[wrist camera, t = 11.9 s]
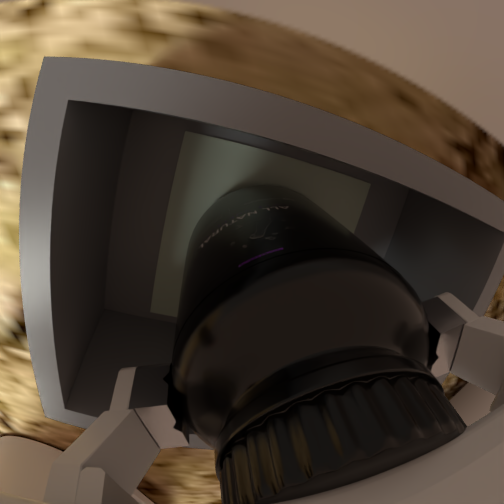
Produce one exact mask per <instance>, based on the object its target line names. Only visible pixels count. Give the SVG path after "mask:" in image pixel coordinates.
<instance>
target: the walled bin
mask: <svg viewBox="0 0 504 504" xmlns="http://www.w3.org/2000/svg"><path fill="white" fill-rule="evenodd" d="M255 185H274V186H280V187H284V188H288V189H291V190H293V191H296V192H298V193H300V194H302V195H304V196H305V197H307V198H308V199H310V200H311V201H313V202H314V203H315V204H317V205H318V206H319V207H321V208H322V209H323V210H324V211H326V212H327V213H328V214H329V215H331V216H332V217H333V218H335V219H336V220H337V221H338V222H339V223H341V224H342V225H343V226H344V227H346V228H347V229H348V230H349V231H351V232H352V233H353V234H354V235H355V236H357V237H358V238H359V239H360V240H362V241H363V242H364V243H365V244H366V245H368V246H369V247H370V248H371V249H372V250H373V251H375V252H376V253H377V254H378V255H379V256H381V257H382V258H383V259H384V260H385V261H386V262H387V263H389V264H390V265H391V266H392V267H393V268H394V269H395V270H397V271H398V272H399V273H400V274H401V275H402V276H403V277H404V278H405V279H406V280H407V282H408V283H409V284H410V285H411V286H412V287H413V289H414V290H415V291H416V293H417V294H418V296H419V298H420V300H421V302H422V301H425V300H427V299H430V298H433V297H435V296H437V295H440V294H443V293H445V292H448V293H451V294H452V295H454V296H455V297H456V298H457V299H458V300H460V301H461V302H462V303H463V304H464V305H466V306H467V307H468V308H469V309H470V310H472V311H473V312H474V313H475V314H476V315H477V316H479V317H481V316H484V314H485V312H486V310H487V308H488V306H489V304H490V302H491V300H492V298H493V296H494V294H495V292H496V290H497V288H498V286H499V284H500V282H501V279H502V277H503V275H504V201H503V200H501V199H500V198H498V197H497V196H495V195H494V194H492V193H491V192H489V191H487V190H486V189H484V188H483V187H481V186H479V185H478V184H476V183H474V182H473V181H471V180H469V179H468V178H466V177H464V176H463V175H461V174H459V173H457V172H456V171H454V170H452V169H450V168H449V167H447V166H445V165H443V164H441V163H439V162H438V161H436V160H434V159H432V158H430V157H428V156H426V155H424V154H422V153H420V152H418V151H416V150H414V149H412V148H410V147H408V146H406V145H404V144H402V143H400V142H398V141H396V140H393V139H391V138H389V137H387V136H385V135H383V134H380V133H378V132H376V131H373V130H371V129H369V128H366V127H364V126H362V125H359V124H357V123H354V122H352V121H350V120H347V119H345V118H342V117H339V116H337V115H334V114H332V113H329V112H326V111H324V110H321V109H318V108H315V107H312V106H310V105H307V104H304V103H301V102H298V101H295V100H292V99H289V98H286V97H282V96H279V95H276V94H273V93H269V92H266V91H263V90H259V89H256V88H252V87H248V86H245V85H241V84H237V83H233V82H229V81H225V80H221V79H217V78H212V77H208V76H204V75H199V74H194V73H189V72H184V71H179V70H174V69H168V68H162V67H156V66H150V65H143V64H136V63H128V62H120V61H110V60H100V59H88V58H71V57H44V59H43V63H42V66H41V70H40V74H39V77H38V81H37V85H36V90H35V94H34V99H33V103H32V108H31V113H30V119H29V124H28V130H27V137H26V144H25V151H24V159H23V168H22V179H21V193H20V215H19V253H20V275H21V289H22V300H23V309H24V317H25V325H26V332H27V338H28V344H29V350H30V355H31V360H32V365H33V370H34V375H35V379H36V384H37V388H38V392H39V396H40V400H41V403H42V407H43V410H44V414H45V417H47V418H50V419H53V420H57V421H60V422H63V423H67V424H70V425H74V426H77V427H81V428H85V429H87V428H88V427H89V426H90V425H91V424H92V423H93V422H94V421H95V420H96V419H97V418H98V417H99V416H100V415H101V414H102V413H103V412H104V411H109V410H110V405H111V401H112V397H113V393H114V388H115V384H116V380H117V376H118V372H119V371H120V370H121V369H122V368H128V367H138V366H144V365H153V364H162V363H170V362H172V355H173V346H174V338H175V329H176V322H177V314H178V307H179V299H180V292H181V286H182V279H183V272H184V266H185V259H186V254H187V249H188V244H189V241H190V238H191V235H192V233H193V230H194V228H195V226H196V224H197V223H198V221H199V219H200V218H201V217H202V215H203V214H204V213H205V212H206V211H207V209H208V208H209V207H211V206H212V205H213V204H214V203H215V202H216V201H218V200H219V199H221V198H222V197H224V196H225V195H227V194H229V193H231V192H233V191H236V190H239V189H241V188H245V187H249V186H255ZM449 373H450V372H448V373H445V374H443V375H441V376H439V377H436V378H437V380H438V381H439V382H440V384H442V383H443V381H444V380H445V379H446V377H447V376H448V374H449ZM189 445H190V446H182V447H188V448H198V449H210V450H214V449H213V448H211V447H210V446H208V445H207V444H206V443H205V442H203V441H202V440H201V439H200V438H199V437H198V436H197V435H196V434H195V433H194V432H193V431H192V429H191V428H190V427H189Z"/></svg>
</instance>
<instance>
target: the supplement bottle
mask: <svg viewBox="0 0 504 504" xmlns="http://www.w3.org/2000/svg"><path fill="white" fill-rule="evenodd" d="M429 353H430V330H429V323H428V319H427V315H426V311H425V309H424V306H423V304H422V302H421V300H420V298H419V296H418V294H417V293H416V291H415V290H414V289H413V287H412V286H411V285H410V284H409V283H408V282H407V280H406V279H405V278H404V277H403V276H402V275H401V274H400V273H399V272H398V271H397V270H395V269H394V268H393V267H392V266H391V265H390V264H389V263H387V262H386V261H385V260H384V259H383V258H382V257H381V256H379V255H378V254H377V253H376V252H375V251H373V250H372V249H371V248H370V247H369V246H368V245H366V244H365V243H364V242H363V241H362V240H360V239H359V238H358V237H357V236H355V235H354V234H353V233H352V232H351V231H349V230H348V229H347V228H346V227H344V226H343V225H342V224H341V223H339V222H338V221H337V220H336V219H335V218H333V217H332V216H331V215H329V214H328V213H327V212H326V211H324V210H323V209H322V208H321V207H319V206H318V205H317V204H315V203H314V202H313V201H311V200H310V199H308V198H307V197H305V196H304V195H302V194H300V193H298V192H296V191H293V190H291V189H288V188H284V187H280V186H274V185H255V186H249V187H245V188H241V189H239V190H236V191H233V192H231V193H229V194H227V195H225V196H224V197H222V198H221V199H219V200H218V201H216V202H215V203H214V204H213V205H212V206H211V207H209V208H208V209H207V211H206V212H205V213H204V214H203V215H202V217H201V218H200V219H199V221H198V223H197V224H196V226H195V228H194V230H193V233H192V235H191V238H190V241H189V244H188V249H187V254H186V259H185V266H184V272H183V279H182V286H181V292H180V299H179V307H178V314H177V322H176V329H175V338H174V346H173V355H172V388H173V394H174V397H175V401H176V404H177V406H178V408H179V410H180V412H181V414H182V416H183V418H184V420H185V421H186V422H187V424H188V425H189V427H190V428H191V429H192V431H193V432H194V433H195V434H196V435H197V436H198V437H199V438H200V439H201V440H202V441H203V442H205V443H206V444H207V445H208V446H210V447H211V448H213V449H214V456H215V469H216V475H217V478H218V480H219V481H220V489H221V499H222V504H273V503H279V502H284V501H289V500H294V499H298V498H302V497H307V496H311V495H315V494H318V493H322V492H326V491H329V490H333V489H336V488H339V487H343V486H346V485H349V484H352V483H355V482H358V481H361V480H364V479H367V478H370V477H372V476H375V475H378V474H380V473H383V472H385V471H388V470H390V469H393V468H395V467H398V466H400V465H402V464H405V463H407V462H409V461H412V460H414V459H416V458H418V457H420V456H422V455H425V454H427V453H429V452H431V451H433V450H435V449H437V448H439V447H441V446H443V445H445V444H446V443H448V442H450V441H452V440H453V439H455V438H457V437H458V436H459V435H461V434H462V433H464V431H465V430H466V427H467V426H466V424H465V423H464V421H463V420H462V418H461V417H460V416H459V414H458V413H457V412H456V410H455V409H454V407H453V406H452V405H451V403H450V402H449V401H448V399H447V398H446V397H445V395H444V390H443V388H442V386H441V384H440V382H439V381H438V380H437V378H436V377H435V376H434V375H433V373H432V372H431V371H430V370H429V369H428V368H427V364H428V359H429Z"/></svg>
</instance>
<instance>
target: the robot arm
mask: <svg viewBox="0 0 504 504" xmlns="http://www.w3.org/2000/svg"><path fill="white" fill-rule="evenodd" d="M422 304H423V306H424V309H425V311H426V315H427V319H428V323H429V330H430V353H429V359H428V364H427V368H428V369H429V370H430V371H431V372H432V373H433V375H434V376H435V377H439V376H441V375H443V374H445V373H448V372H450V371H451V372H450V373H452V374H454V375H456V376H458V377H460V378H462V379H464V380H466V381H468V382H470V383H472V384H474V385H476V386H478V387H480V388H482V389H484V390H486V391H488V392H490V393H492V394H494V395H496V397H495V399H494V401H493V402H492V404H491V407H490V411H491V412H490V413H489V414H487V415H486V416H484V417H483V418H481V419H479V420H478V421H476V422H475V423H473V424H471V425H470V426H468V427H466V430H465V431H464V433H462V434H461V435H459V436H458V437H457V438H455V439H453V440H452V441H450V442H448V443H446V444H445V445H443V446H441V447H439V448H437V449H435V450H433V451H431V452H429V453H427V454H425V455H422V456H420V457H418V458H416V459H414V460H412V461H409V462H407V463H405V464H402V465H400V466H398V467H395V468H393V469H390V470H388V471H385V472H383V473H380V474H378V475H375V476H372V477H370V478H367V479H364V480H361V481H358V482H355V483H352V484H349V485H346V486H343V487H339V488H336V489H333V490H329V491H326V492H322V493H318V494H315V495H311V496H307V497H302V498H298V499H294V500H289V501H284V502H279V503H273V504H504V321H500V320H496V319H493V318H489V317H485V316H481V317H479V316H477V315H476V314H475V313H474V312H473V311H472V310H470V309H469V308H468V307H467V306H466V305H464V304H463V303H462V302H461V301H460V300H458V299H457V298H456V297H455V296H454V295H452V294H451V293H448V292H445V293H443V294H440V295H437V296H435V297H433V298H430V299H427V300H425V301H422ZM182 446H190V445H189V425H188V424H187V422H186V421H185V420H184V418H183V416H182V414H181V412H180V410H179V408H178V406H177V404H176V401H175V397H174V394H173V388H172V362H170V363H162V364H153V365H144V366H138V367H128V368H122V369H121V370H120V371H119V372H118V376H117V380H116V384H115V388H114V393H113V397H112V401H111V405H110V410H109V411H104V412H103V413H102V414H101V415H100V416H99V417H98V418H97V419H96V420H95V421H94V422H93V423H92V424H91V425H90V426H89V427H88V428H87V429H86V430H85V431H84V432H83V433H82V434H81V435H80V436H79V437H78V438H77V439H76V440H75V441H74V442H73V443H72V444H71V445H70V446H69V447H68V448H67V449H66V450H65V451H64V452H63V451H60V450H58V449H56V448H53V447H51V446H48V445H45V444H43V443H40V442H37V441H34V440H30V439H26V438H22V437H17V436H3V437H0V504H154V503H153V502H152V501H151V500H149V499H148V498H147V497H146V496H145V495H143V494H142V493H141V492H140V491H139V490H137V489H136V488H137V486H138V485H139V483H140V482H141V480H142V479H143V477H144V476H145V474H146V473H147V471H148V469H149V468H150V466H151V465H152V463H153V462H154V460H155V458H156V457H157V455H158V454H159V452H160V449H165V448H174V447H182Z"/></svg>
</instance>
